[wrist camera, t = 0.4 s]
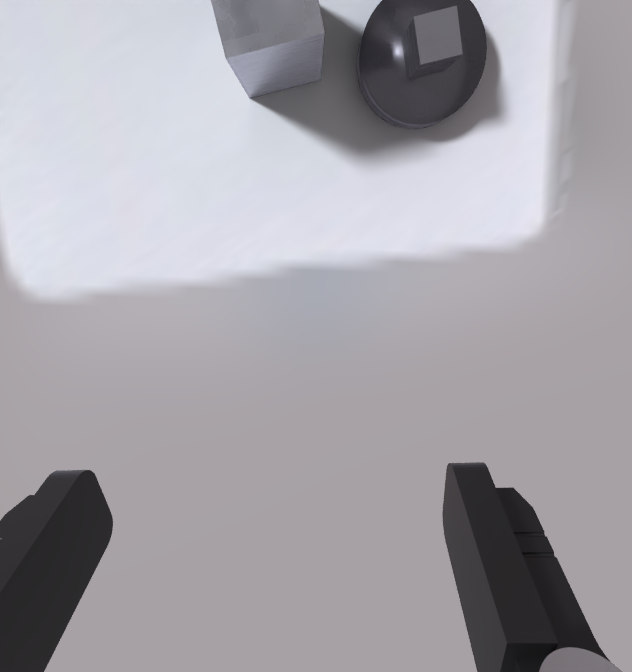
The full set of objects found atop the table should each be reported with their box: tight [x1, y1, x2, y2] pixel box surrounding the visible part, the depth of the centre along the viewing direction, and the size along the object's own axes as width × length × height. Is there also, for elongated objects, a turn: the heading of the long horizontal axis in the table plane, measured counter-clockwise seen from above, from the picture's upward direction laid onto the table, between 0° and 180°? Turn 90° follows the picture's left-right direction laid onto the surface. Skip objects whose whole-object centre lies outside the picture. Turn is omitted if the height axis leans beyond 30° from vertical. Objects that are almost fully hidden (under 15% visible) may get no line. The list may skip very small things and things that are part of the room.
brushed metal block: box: [211, 0, 325, 98], centre depth 26 cm, size 5×5×9 cm
